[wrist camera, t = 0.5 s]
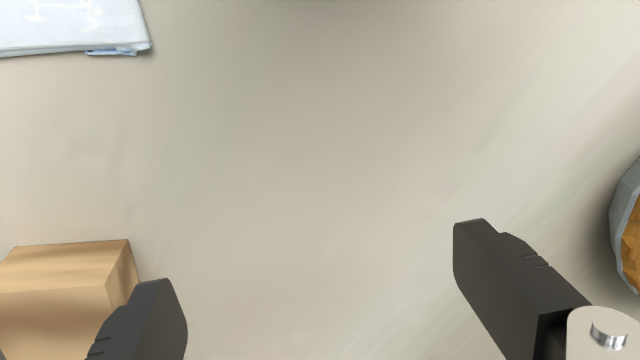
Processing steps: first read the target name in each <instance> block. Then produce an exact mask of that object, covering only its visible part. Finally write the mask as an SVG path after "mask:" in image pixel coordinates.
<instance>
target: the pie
mask: <svg viewBox="0 0 640 360" xmlns="http://www.w3.org/2000/svg"><path fill="white" fill-rule="evenodd" d="M608 214H609V229H610V243H611V246H612V248H613V251H614V253H615V256H616V261H617V272H618V274H619V275H620V276H621V278H622V279H623V280H624V282H625V283H626V284H627V286H628V287H629V288H630V290H631V291H632V292H633V294H634V295H636V296H639V297H640V156H639V157H638V159H637V160H636V161H635V162H634V163H633V164H632V165H631V167H630V168H629V169H628V170H627V171H626V172H625V174H624V175H623V176H622V177H621V178H620V180H619V182H618V185H617V188H616V191H615V194H614V197H613V200H612V203H611V206H610V209H609V212H608Z"/></svg>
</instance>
